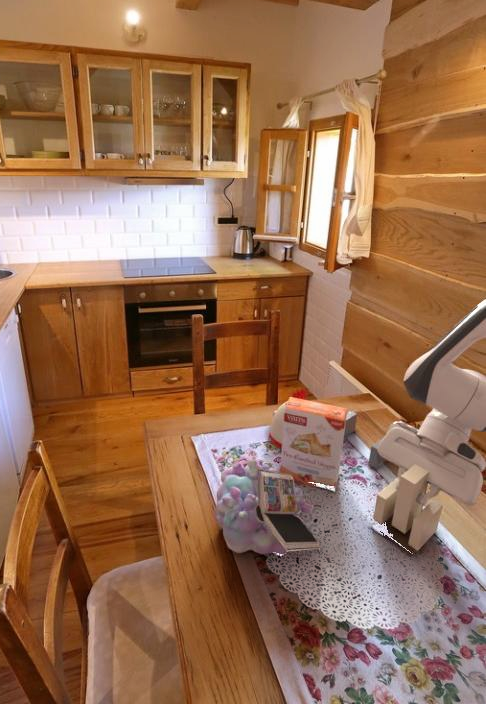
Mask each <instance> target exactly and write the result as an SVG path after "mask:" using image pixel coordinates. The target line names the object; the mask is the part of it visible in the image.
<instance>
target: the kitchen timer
mask: <svg viewBox="0 0 486 704" xmlns="http://www.w3.org/2000/svg"><path fill="white" fill-rule="evenodd" d="M307 393H308V391H306V390H304V388H301V389H300V390H296V392H295V391H293V392H292V397H293V398H298V399H303V400H306V397H307ZM287 402H288V400H287V401H285V402H284V403H282V404H281V405H280V406H279V407H278V408H277V410H273V412H272V419H271V421H270V425H269V433H268V435H269V439H270V442H271V443H272V444H273V445H274V446H276V447H277V448H279V449H281V450H282V439H283V425H284V413H285V407H286V405H287Z"/></svg>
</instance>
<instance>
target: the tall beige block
mask: <svg viewBox="0 0 486 704" xmlns="http://www.w3.org/2000/svg"><path fill="white" fill-rule="evenodd" d="M428 473H429V472H428V471H427V470H425V469H423V468H421V467H419V466H418V465H416V464H415V465H413V466H412V467H411V468H410V469H409V470H407V471H406V472H405V473H404V474H403V475H401V477H400V483H399V488H398V493H397V499H396V504H395V509H394V515H393V520H392V525H393V526H394V527H395V528H397V529H398V530H400V531H401V532H403V533H404V534H405V533H406V532H407V531H408V530H409V529H410V528H411V527H412V525H413V520H414V518H415V517H416V516H417V515H418V514H419V513H420V512H421V511H422V510H423V509H424V506H422V505H421V504H419V503H418V502H416V499H417V498H418V495H419V493H420V494H422V495H424V494H426V493H427V490H428V484H429V483H428V481H426V477H427V475H428Z"/></svg>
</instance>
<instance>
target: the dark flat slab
mask: <svg viewBox="0 0 486 704" xmlns="http://www.w3.org/2000/svg"><path fill="white" fill-rule="evenodd" d="M393 515H394V514H393ZM393 515H391V516H390V517H389V518H388V519H387V520H386V521H385V522H386V526H387V530H388V533H389V534H390V533H391V534H393V537H392V536H391V537H392V538H393V539H394V540H396V541H397V542H398V543H400V544H401V545H402V546H403V547H405V548H406V549H407V550H409V551H410V552H411V553H410V552H409V551H407V550H406V549H405V548H403V547H402V546H400V545H399V544H398V543H396V542H395V541H394V540H392V539H391V538H389V537H388V536H387V535H385V536H384V533H383V532H381V531H380V532H381V533H383V536H382V537H383V539H385V540H387V541H388V542H389V543H391V544H392V545H394V546H395V547H396V548H398V549H399V550H400V551H402V552H403V553H404V554H406V555H407V556H409V558H412V557H414V556H415V554H416V553H417V552H418V551H417V550H416V549H414V548H413V547H411V546H410V545H409V544H408V543H409V539H410V534H411V530H412V527H411V528H410V529H409V530H408V531H407V532H406V533H405V534H404V533H403V532H401V531H400V530H398V529H397V528H395V527H394V526H393V525H392V520H393ZM385 522H384V524H385ZM384 526H385V525H384ZM412 553H413V554H412Z"/></svg>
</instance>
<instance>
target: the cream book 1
mask: <svg viewBox="0 0 486 704" xmlns="http://www.w3.org/2000/svg"><path fill="white" fill-rule="evenodd" d="M398 482H399V479H398V477H396V478H395V479H393V481H391V482H390V483H389V484H388V485H387V486H386V487H384V488H383V489H382V490H380V491H379V492H378V493H377V494H376V500H375V505H374V511H373V515H372V516H373V517H372V520H373V519H374V520H373V521H377V522H378V523H379V524H381V525H382V524H383V523H384V522H385V521H386V520H387V519H388V518H389V517H390V516H391V515H393V514H394V509H395V504H396V499H397V493H398V490H397V489H396V486H397V484H398Z"/></svg>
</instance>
